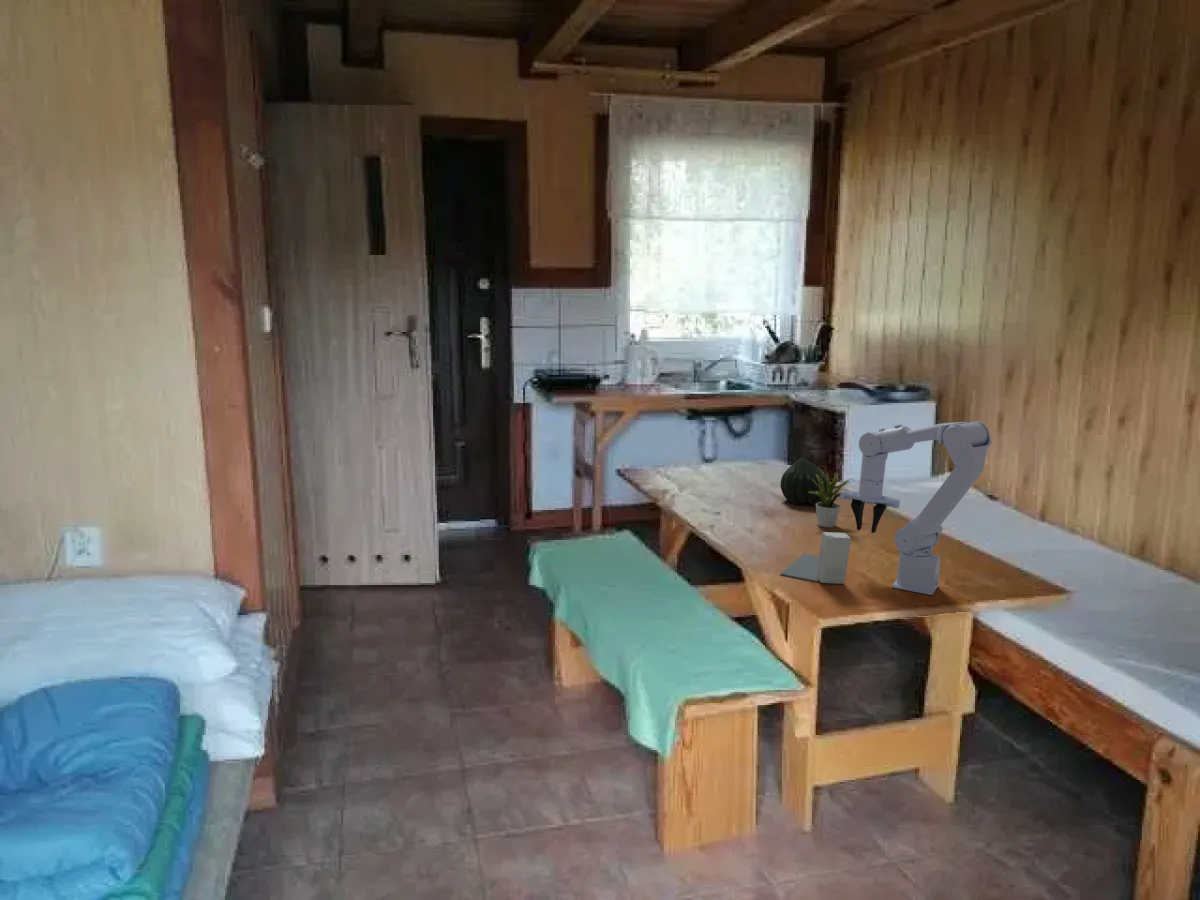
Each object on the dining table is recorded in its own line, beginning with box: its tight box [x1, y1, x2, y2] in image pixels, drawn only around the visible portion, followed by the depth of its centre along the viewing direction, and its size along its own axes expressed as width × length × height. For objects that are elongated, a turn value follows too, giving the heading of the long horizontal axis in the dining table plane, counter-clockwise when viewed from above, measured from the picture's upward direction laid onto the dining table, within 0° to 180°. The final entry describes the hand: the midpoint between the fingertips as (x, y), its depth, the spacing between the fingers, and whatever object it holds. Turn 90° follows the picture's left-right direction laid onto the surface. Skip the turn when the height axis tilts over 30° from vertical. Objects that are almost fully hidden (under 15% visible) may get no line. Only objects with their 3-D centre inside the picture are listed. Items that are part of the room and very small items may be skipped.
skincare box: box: [817, 531, 852, 585], centre depth 228 cm, size 6×4×12 cm
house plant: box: [808, 470, 854, 528], centre depth 275 cm, size 14×14×16 cm
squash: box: [780, 457, 827, 506], centre depth 303 cm, size 14×15×15 cm
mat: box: [779, 552, 820, 583], centre depth 239 cm, size 10×20×1 cm, turn 151°
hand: (866, 530), depth 237 cm, fingers open, 3 cm apart
